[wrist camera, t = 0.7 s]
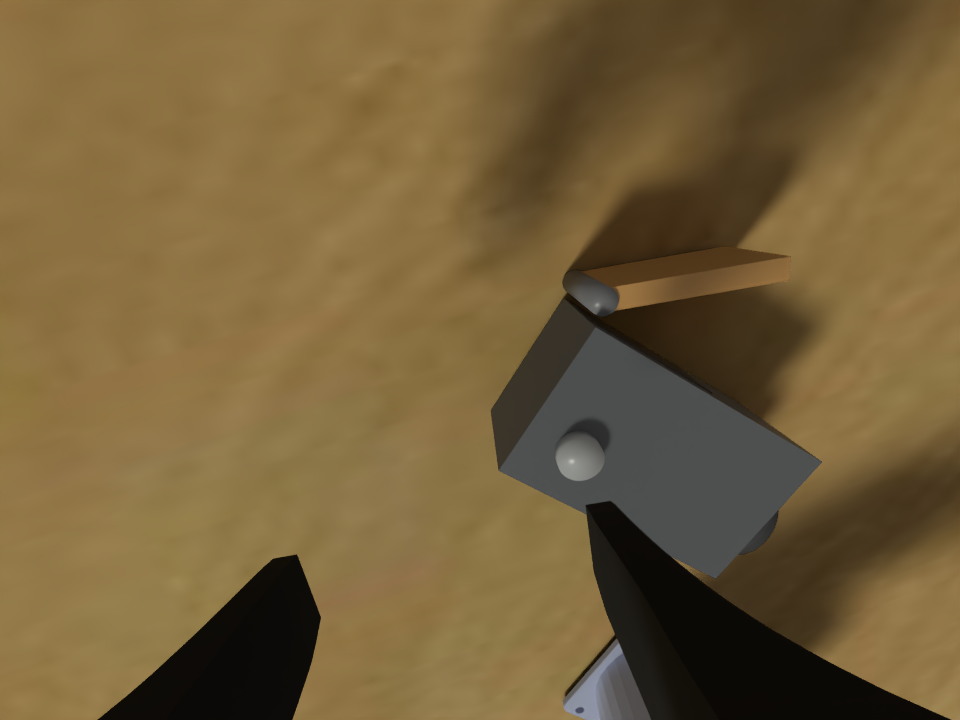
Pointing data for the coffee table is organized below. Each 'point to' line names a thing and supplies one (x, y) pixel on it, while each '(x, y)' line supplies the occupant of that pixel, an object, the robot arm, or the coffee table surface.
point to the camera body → (644, 442)
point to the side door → (674, 278)
